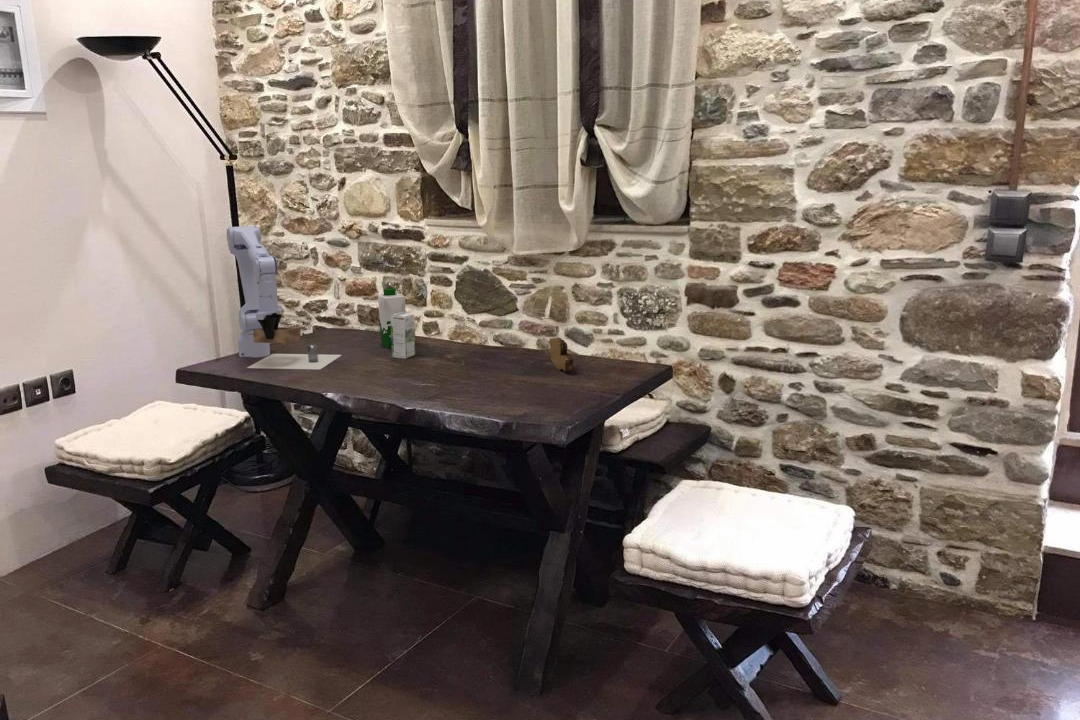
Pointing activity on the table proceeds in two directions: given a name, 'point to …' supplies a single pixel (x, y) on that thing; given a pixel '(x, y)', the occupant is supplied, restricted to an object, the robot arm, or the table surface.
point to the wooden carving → (560, 354)
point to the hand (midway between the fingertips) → (271, 338)
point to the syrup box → (403, 335)
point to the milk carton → (389, 313)
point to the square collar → (278, 335)
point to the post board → (296, 360)
